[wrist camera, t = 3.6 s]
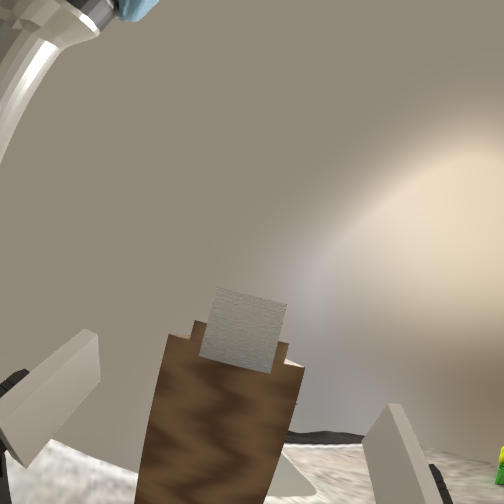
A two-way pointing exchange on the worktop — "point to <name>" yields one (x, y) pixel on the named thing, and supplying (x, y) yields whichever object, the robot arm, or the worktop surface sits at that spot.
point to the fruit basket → (500, 468)
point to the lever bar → (243, 330)
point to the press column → (215, 426)
